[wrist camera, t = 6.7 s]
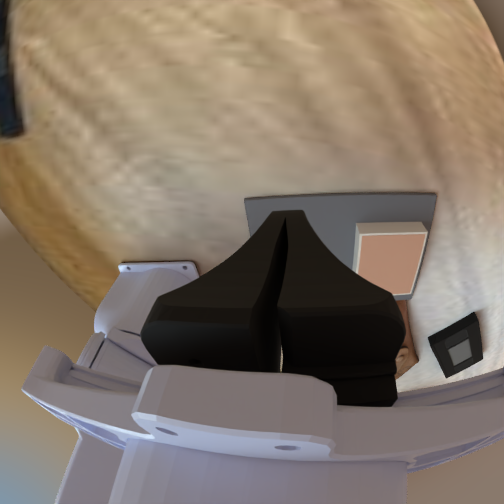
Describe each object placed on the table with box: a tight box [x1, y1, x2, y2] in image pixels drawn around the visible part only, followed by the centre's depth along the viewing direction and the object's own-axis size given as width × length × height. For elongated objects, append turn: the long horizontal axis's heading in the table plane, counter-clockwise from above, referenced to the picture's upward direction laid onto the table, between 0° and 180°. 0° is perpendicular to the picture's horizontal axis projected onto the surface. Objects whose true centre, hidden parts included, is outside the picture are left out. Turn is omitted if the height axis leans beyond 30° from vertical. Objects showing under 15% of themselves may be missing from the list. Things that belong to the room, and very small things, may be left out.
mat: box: [244, 193, 437, 300], centre depth 24 cm, size 16×12×1 cm
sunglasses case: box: [395, 300, 419, 380], centre depth 30 cm, size 18×7×7 cm
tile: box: [352, 222, 428, 295], centre depth 22 cm, size 2×7×6 cm
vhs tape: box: [428, 312, 483, 378], centre depth 30 cm, size 8×14×2 cm, turn 43°
